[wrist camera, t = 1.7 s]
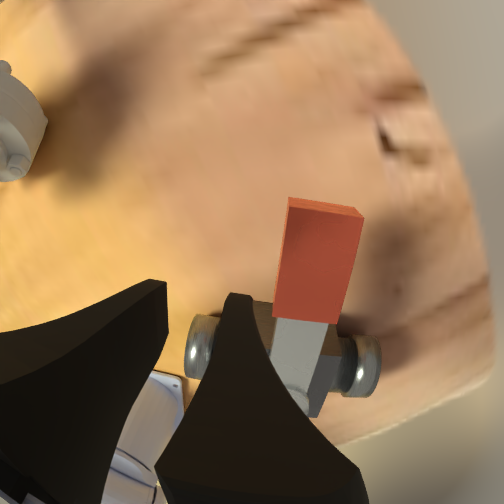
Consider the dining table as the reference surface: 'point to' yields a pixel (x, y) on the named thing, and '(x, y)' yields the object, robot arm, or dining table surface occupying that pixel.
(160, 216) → the dining table surface
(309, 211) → the valve lever
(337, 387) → the pipe valve
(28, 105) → the grey rounded housing
